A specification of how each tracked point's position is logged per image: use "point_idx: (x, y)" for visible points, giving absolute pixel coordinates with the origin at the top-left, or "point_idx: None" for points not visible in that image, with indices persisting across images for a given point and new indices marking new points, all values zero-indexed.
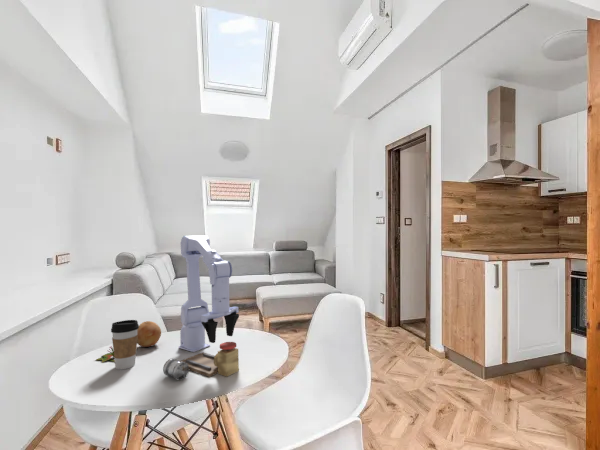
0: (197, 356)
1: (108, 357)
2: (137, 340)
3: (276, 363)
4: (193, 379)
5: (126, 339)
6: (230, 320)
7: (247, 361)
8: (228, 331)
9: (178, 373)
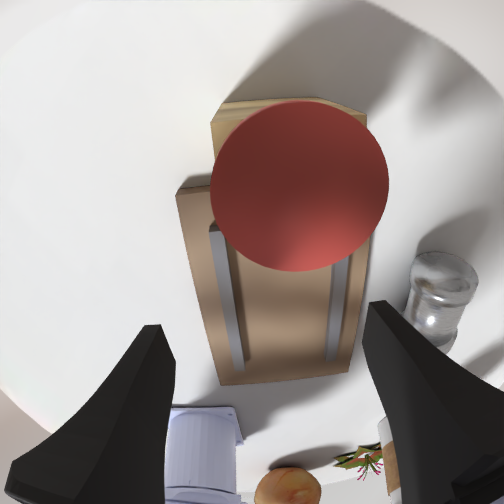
0: (264, 370)
1: (375, 455)
2: (319, 484)
3: (28, 42)
4: (414, 215)
5: None
6: (130, 474)
7: (106, 176)
8: (163, 381)
9: (457, 267)
